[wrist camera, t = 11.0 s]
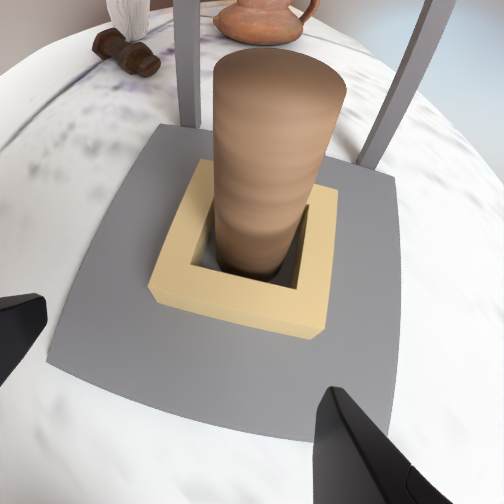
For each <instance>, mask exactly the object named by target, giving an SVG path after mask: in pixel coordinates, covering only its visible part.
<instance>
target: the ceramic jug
mask: <svg viewBox="0 0 504 504" xmlns="http://www.w3.org/2000/svg"><path fill="white" fill-rule="evenodd" d="M292 1H293V0H237V2H236V3H234V4H232V5H230V6H228V7H226V8H225V9H223V10H222V11H221V12H220V13H219V14H218V15H217V16H215V17H214V19H213V23H214V24H215V26H216V27H217V28H218V29H219V30H220V32H222V33H223V34H224V35H226V36H227V37H229V38H232V39H234V40H237V41H240V42H244V43H248V44H254V45H281V44H286V43H290V42H293V41H295V40H297V39H298V38H299V37H300V36H301V34H302V32H303V25H304V23H305V22H306V21H307V20H308V19H309V18H310V17H311V16H312V15H313V14H314V12H315V11H316V10H317V8H318V6H319V2H320V0H311V2H310V5H309V7H308V8H307V10H306V11H305V12H304V14H303V15H302V16H301V17H300V18H298V17H297V16H296V15H295V14H294V13H292V12H291V11H290V9H289V8H288V6H289V5H290V4H291V3H292Z"/></svg>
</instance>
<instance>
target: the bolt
mask: <svg viewBox="0 0 504 504" xmlns="http://www.w3.org/2000/svg"><path fill="white" fill-rule="evenodd" d="M125 40H126V37H125V36H124V35H123V34H122V33H121V32H120V31H119V30H118V29H117V28H110V29H107V30H104V31H102V32H100V33H98V34H97V36H96V38H95V40H94V43H93V46H92V51H93V52H94V53H95V54H97V55H98V56H99V57H100V58H102V59H103V60H105V59H107V58H110V57H113V58H114V59H116V60H117V61H119V62H118V64H119V65H120V66H121V67H122V68H123V69H124V70H125V71H126V72H128V73H129V74H131V75H132V74H136V73H138V74H140V75H141V76H143V77H149V76H152V75H153V74H155V73H156V72H157V71H158V69H159V68H160V65H161V61H160V59H159V58H158V57H157V56H155V55H153V53H152V51H151V50H150V49H149V48H148V47H147V46H146V45H145V44H144V43H142V42H137V43H133V44H131V43H129V42H127V41H125Z"/></svg>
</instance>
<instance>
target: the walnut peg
mask: <svg viewBox="0 0 504 504" xmlns="http://www.w3.org/2000/svg"><path fill="white" fill-rule="evenodd" d="M346 92H347V88H346V84H345V82H344V80H343V79H342V78H341V76H340V75H339V74H338V73H337V72H336V71H335V70H333V69H332V68H331V67H329V66H328V65H326V64H325V63H323V62H321V61H319V60H317V59H315V58H312V57H310V56H307V55H304V54H301V53H298V52H294V51H289V50H284V49H276V48H251V49H244V50H240V51H236V52H233V53H231V54H228V55H226V56H224V57H223V58H221V59H220V60H219V61H218V62H217V63H216V65H215V67H214V71H213V163H214V207H215V237H216V258H217V263H218V265H219V267H220V269H221V271H222V272H223V273H227V274H231V275H235V276H239V277H244V278H248V279H252V280H256V281H261V282H265V283H266V282H268V281H270V280H271V279H273V278H274V277H275V276H276V275H277V274H278V272H279V271H280V269H281V267H282V264H283V262H284V259H285V257H286V254H287V252H288V249H289V247H290V244H291V242H292V239H293V237H294V234H295V231H296V229H297V226H298V224H299V221H300V219H301V216H302V213H303V211H304V208H305V206H306V203H307V200H308V198H309V195H310V192H311V190H312V187H313V185H314V182H315V179H316V176H317V174H318V171H319V168H320V166H321V163H322V160H323V158H324V155H325V152H326V149H327V147H328V144H329V141H330V138H331V135H332V133H333V130H334V127H335V124H336V121H337V119H338V116H339V113H340V110H341V107H342V104H343V101H344V98H345V96H346Z"/></svg>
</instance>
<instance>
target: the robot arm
mask: <svg viewBox="0 0 504 504" xmlns="http://www.w3.org/2000/svg"><path fill="white" fill-rule="evenodd" d="M47 321H48V317H47V307H46V300H45V298H44V297H43V296H41V295H39V294H37V293H31V294H23V295H16V296H9V297H1V298H0V387H1V385H2V384H3V383H4V381H5V380H6V379H7V378H8V376H9V375H10V374H11V373H12V371H13V370H14V369H15V368H16V366H17V365H18V364H19V363H20V362H21V360H22V359H23V358H24V356H25V355H26V354H27V352H28V351H29V349H30V348H31V346H32V345H33V343H34V342H35V340H36V339H37V338H38V336H39V335H40V333H41V332H42V330H43V329H44V328H45V326H46V324H47ZM313 504H453V503H452V502H451V501H449V500H448V499H447V498H446V497H445V496H444V495H442V494H441V493H440V492H439V491H438V490H437V489H436V488H435V487H434V486H432V485H431V484H430V483H429V482H428V481H427V480H426V479H425V478H424V477H423V475H422V474H421V473H420V472H419V471H418V470H417V469H416V468H415V467H414V466H413V465H412V466H411V463H410V462H409V461H408V460H407V458H406V457H405V456H404V455H403V454H402V453H401V452H400V451H399V450H398V449H397V447H396V446H395V445H394V444H393V443H392V442H391V441H390V440H389V439H388V438H387V436H386V435H385V434H384V433H383V432H382V431H381V430H380V429H379V428H378V427H377V425H376V424H375V423H374V422H373V421H372V420H371V419H370V418H369V417H368V415H367V414H366V413H365V412H364V411H363V410H362V409H361V408H360V406H359V405H358V404H357V403H356V402H355V401H354V400H353V399H352V397H351V396H350V395H349V394H348V393H347V392H346V391H345V390H344V389H343V388H341V387H335V386H329V387H328V388H327V389H326V391H325V393H324V395H323V397H322V399H321V401H320V403H319V405H318V407H317V411H316V422H315V434H314V445H313Z"/></svg>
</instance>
